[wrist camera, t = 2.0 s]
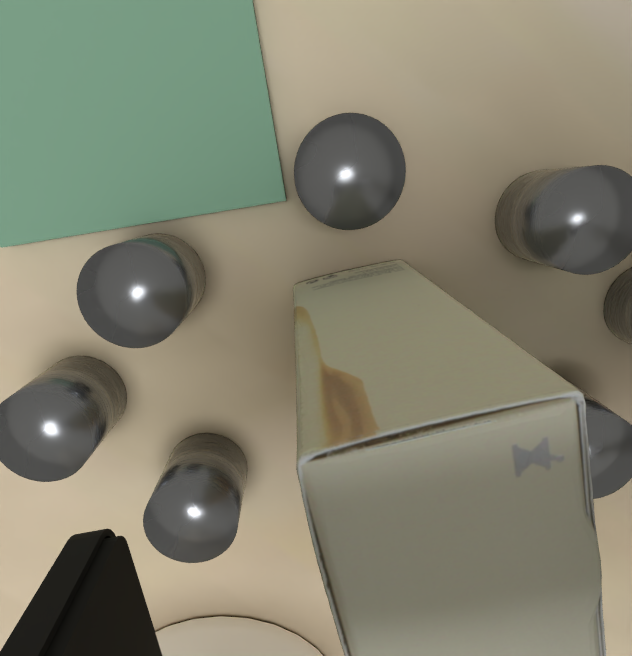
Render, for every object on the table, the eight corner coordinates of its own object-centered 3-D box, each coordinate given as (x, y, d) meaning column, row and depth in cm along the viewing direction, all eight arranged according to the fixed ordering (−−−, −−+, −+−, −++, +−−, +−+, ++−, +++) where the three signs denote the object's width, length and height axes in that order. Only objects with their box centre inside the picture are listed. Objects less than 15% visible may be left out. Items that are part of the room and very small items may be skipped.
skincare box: (289, 282, 19) (278, 437, 7) (403, 255, 19) (591, 366, 7) (327, 434, 20) (370, 769, 9) (432, 410, 20) (621, 715, 8)
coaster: (229, -136, 15) (227, -149, 15) (286, 200, 18) (286, 200, 17) (-94, -81, 15) (-110, -92, 15) (10, 245, 18) (0, 247, 17)
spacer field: (694, 69, 17) (792, 38, 14) (678, 479, 22) (749, 533, 18) (-27, 188, 17) (-104, 187, 14) (100, 573, 22) (64, 643, 18)
